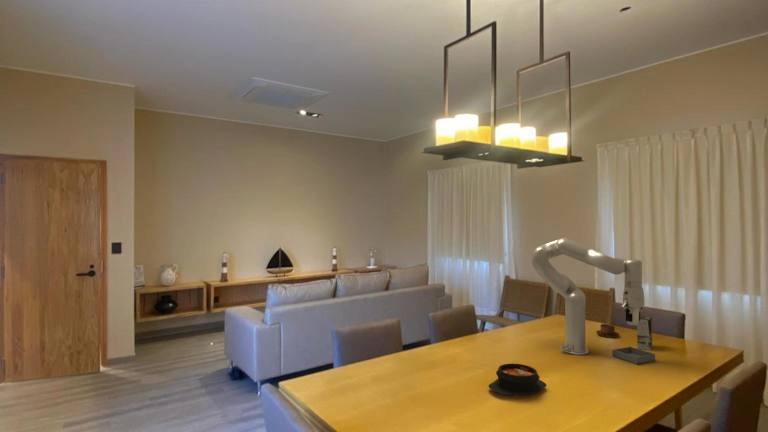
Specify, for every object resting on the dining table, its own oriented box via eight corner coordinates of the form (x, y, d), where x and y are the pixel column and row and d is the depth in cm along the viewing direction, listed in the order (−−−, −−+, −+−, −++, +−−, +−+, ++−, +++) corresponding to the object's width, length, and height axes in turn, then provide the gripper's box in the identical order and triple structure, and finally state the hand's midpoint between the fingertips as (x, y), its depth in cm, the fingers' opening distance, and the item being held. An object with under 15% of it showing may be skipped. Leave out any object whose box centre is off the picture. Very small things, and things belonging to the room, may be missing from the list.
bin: (636, 364, 200) (636, 357, 200) (612, 356, 212) (612, 349, 212) (655, 361, 205) (655, 353, 205) (630, 353, 217) (629, 346, 217)
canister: (634, 325, 205) (634, 307, 205) (624, 323, 210) (624, 305, 210) (641, 325, 207) (641, 306, 207) (631, 322, 212) (631, 304, 212)
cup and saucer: (622, 339, 243) (622, 328, 243) (599, 338, 245) (599, 327, 245) (615, 333, 254) (615, 323, 254) (593, 332, 257) (593, 322, 257)
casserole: (523, 377, 185) (523, 358, 185) (557, 392, 168) (557, 371, 168) (478, 387, 173) (478, 367, 173) (510, 405, 157) (510, 382, 157)
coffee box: (651, 350, 221) (650, 320, 221) (636, 348, 225) (636, 318, 225) (652, 346, 228) (652, 317, 228) (638, 344, 232) (638, 315, 232)
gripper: (628, 286, 202) (628, 324, 202) (651, 284, 208) (651, 321, 208) (614, 284, 209) (614, 320, 209) (637, 282, 215) (637, 317, 215)
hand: (632, 320), depth 208 cm, fingers closed on canister, 5 cm apart
